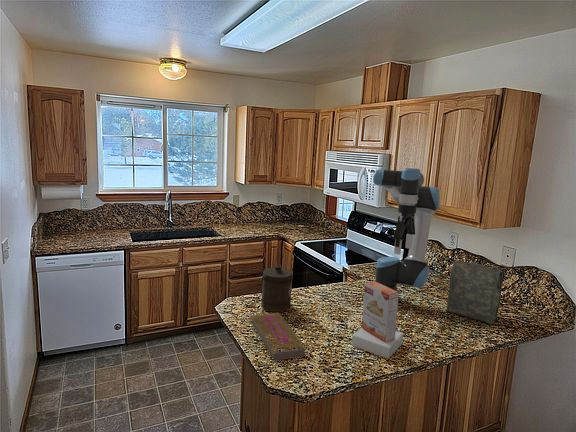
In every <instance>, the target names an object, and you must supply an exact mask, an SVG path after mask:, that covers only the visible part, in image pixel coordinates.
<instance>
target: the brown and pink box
mask: <svg viewBox="0 0 576 432" xmlns="http://www.w3.org/2000/svg"><path fill="white" fill-rule="evenodd" d="M249 317H250V319H251V324H252V326H253V327H254V329H255V330H256V332H257V334H258V336H259V338H260V339H261V341H262V343H263V344H264V345H265V347H266V349H267V351H268V353H269V355H270V357H271V358H272V359H273V361H278V360H279V361H280V360H287V359H292V358H298V357H304V356H306V354H305V353H306V350H307V351H308V350H309V349H308V348H307V347H306V345H305V344H304V343H303V341H302V340H301V339H300V338H299V336H298V335H297V334H296V333H295V331H294V330H293V329H292V327H291V326H290V324H289V323H287V321H286V320H285V319H284V317H283V315H282V314H281V313H280V312H274V313H264V314H262V313H261V314H253V315H252V314H251V315H249ZM294 348H295V349H294ZM279 350H280V351H279ZM283 350H284V351H283Z"/></svg>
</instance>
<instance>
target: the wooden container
mask: <svg viewBox="0 0 576 432" xmlns="http://www.w3.org/2000/svg"><path fill="white" fill-rule="evenodd" d="M292 279H293V271H291V270H290V269H287V268H284V267H282V265H281V264H275V265H274V267H268V268H265V269H264V270H263V273H262V286H261V287H262V289H261V308H262V309H264V310H266V311H267V312H273V313H278V312H279V313H280V312H281V313H282V312H285V311H288V310H289V309H290V308H291V304H292V283H293V282H292Z"/></svg>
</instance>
